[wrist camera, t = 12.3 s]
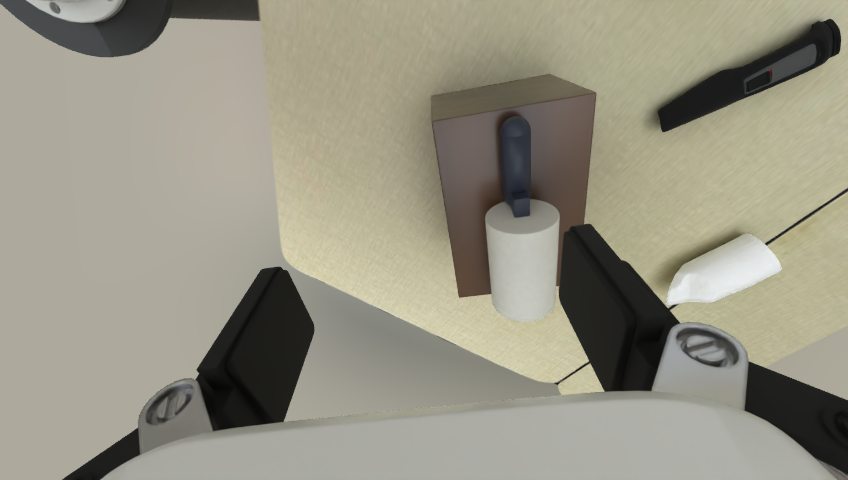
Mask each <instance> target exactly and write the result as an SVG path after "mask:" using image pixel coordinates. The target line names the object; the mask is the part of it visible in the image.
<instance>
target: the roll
mask: <svg viewBox="0 0 848 480" xmlns="http://www.w3.org/2000/svg"><path fill="white" fill-rule="evenodd" d="M780 271H781V264H780V263H779V261H778V259H777V257H776V256H775V255H774V254H773V252H772V251H771V250H770V249H769V248H768V247H767V246H766V245H765V244H764V243H763V242H762V241H760V240H759V239H758V238H756V237H755V236H753V235H751V234H748V233H745V234H743V235H741V236H739V237H737V238H736V239H734V240H732V241H730V242H728V243H726V244H724V245H722V246H719V247H717V248H715V249H713V250H711V251H709V252H707V253H705V254H703V255H701V256H699V257H697V258H695V259H693V260H691V261H689V262H687V263H685V264H683V265H682V266H681V268H680V269H679V270H678V272H677V273H676V274H675V276H674V279H673V281H672V283H671V284H670V287H669V290H668V295H667V296H666V297H667V301H666V302H665V303H666V304H669V305H674V304H679V303H683V302H704V303H711V302H714V301H717V300H719V299H721V298H723V297H726V296H728V295H731V294H733V293H735V292H738V291H740V290H743V289H745V288H748V287H750V286H752V285H754V284H757V283H759V282H760V281H762V280H764V279H766V278H768V277H770V276H772V275H774V274H776V273H778V272H780Z"/></svg>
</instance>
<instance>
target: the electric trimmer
mask: <svg viewBox="0 0 848 480" xmlns="http://www.w3.org/2000/svg"><path fill="white" fill-rule="evenodd" d="M840 46H841V35H840V30H839V28H838V26H837V25H836V23H835V22H834V21H833V20H832V19H828V20H826V21H824V22H820V21H818V22H816V23H814V24H813V25H812V29H811V31H810V33H808V34H807V35H805V36H803V37H801V38H799V39H797V40H795V41H793V42H791V43H789V44H787V45H785V46H784V47H782V48H780V49H778V50H776V51H774V52H772V53H770V54H768V55H766V56H764V57H762V58H760V59H758V60H756V61H754V62H752V63H750V64H747V65H745V66H743V67H739V68H734V69H728V70H723V71H720V72H719V73H717V74H715V75H713V76H712V77H710V78H708V79H707V80H705V81H703V82H702V83H700V84H699V85H697V86H696V87H694V88H692V89H691V90H689V91H688V92H686V93H684V94H683V95H681V96H680V97H678V98H676V99H675V100H673V101H672V102H670V103H668V104H667V105H665V106H664V107H662V108H661V109H659V111H658V114H659V119H660V124H661V129H662V132H666V131H669V130H671V129H673V128H676V127H678V126H681V125H683V124H685V123H688V122H690V121H693V120H695V119H697V118H700V117H702V116H704V115H707V114H709V113H712V112H714V111H716V110H719V109H721V108H723V107H726V106H728V105H730V104H732V103H734V102H736V101H739V100H741V99H744V98H746V97H749V96H751V95H754V94H757V93H759V92H761V91H764V90H766V89H768V88H771V87H773V86H775V85H778V84H780V83H782V82H785V81H787V80H789V79H792V78H794V77H796V76H799V75H801V74H803V73H806V72H808V71H810V70H812V69H814V68H816V67H818V66H820V65H822V64H823V63H825V62H826V61H827V60H828V59H829V58H830V57H833V56H835V55H837V54H839V52H840Z"/></svg>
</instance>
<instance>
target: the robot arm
mask: <svg viewBox="0 0 848 480" xmlns="http://www.w3.org/2000/svg"><path fill="white" fill-rule="evenodd" d="M26 1H28V2H29V3H31V4H32V5H34V6H35V7H37V8H38V9H40V10H42V11H44V12H46V13H48V14H50V15H52V16H54V17H57V18H60V19H63V20H67V21H71V22H79V23H96V22H101V21H105V20H108V19H109V18H111V17H113V16H115V15H116V14H117V13H118V12H119V11H120V10H121V9H122V8H123V6H124V4H125V2H126V0H26ZM559 298H560V302H561V305H562V307H563V309H564V311H565V313H566V315H567V317H568V319H569V321H570V323H571V325H572V327H573V329H574V331H575V333H576V335H577V337H578V339H579V341H580V343H581V345H582V347H583V349H584V351H585V353H586V355H587V357H588V359H589V361H590V363H591V365H592V367H593V369H594V371H595V373H596V375H597V377H598V379H599V381H600V383H601V385H602V387H603V389H604V391H605V392H596V393H582V394H569V395H556V396H545V397H533V398H522V399H512V400H501V401H491V402H479V403H469V404H458V405H449V406H437V407H427V408H418V409H408V410H397V411H387V412H376V413H366V414H357V415H347V416H337V417H328V418H318V419H308V420H299V421H289V422H284V419H285V416H286V413H287V410H288V407H289V404H290V402H291V399H292V396H293V393H294V390H295V387H296V384H297V381H298V378H299V375H300V372H301V370H302V367H303V364H304V361H305V358H306V355H307V352H308V349H309V346H310V343H311V341H312V338H313V335H314V324H313V321H312V319H311V317H310V315H309V313H308V311H307V309H306V308H305V305H304V303H303V301H302V299H301V297H300V295H299V293H298V291H297V289H296V287H295V285H294V283H293V281H292V279H291V277H290V275H289V273H288V271H287V270H283V269H282V268H281V267H273V268H266V269H262V270H261V271H260V272H259V274H258V275H257V277H256V279H255V280H254V282H253V283H252V285H251V286H250V288H249V289H248V291H247V292H246V294H245V295H244V297H243V299H242V300H241V302H240V303H239V305H238V306H237V308H236V309H235V311H234V312H233V314H232V316H231V317H230V319H229V320H228V322H227V323H226V325H225V326H224V328H223V330H222V331H221V333H220V334H219V336H218V337H217V339H216V340H215V342H214V344H213V345H212V347H211V348H210V350H209V351H208V353H207V354H206V356H205V358H204V359H203V361H202V362H201V364H200V365H199V367H198V368H197V371H198V372H199V375H198V377H197V378H196V380H194V379H192V378H189V379H182V380H178V381H175V382H173V383H171V384H169V385H167V386H166V387H164V388H163V389H161V390H160V391H158V392H157V393H156V394H155V395H154V396H153V397H152V398H151V399H150V400H149V401H148V402H147V403H146V405H145V406H144V408H143V409H142V411H141V413H140V415H139V420H138V428H137V429H135V430H134V431H133V432H131V433H130V434H128V435H127V436H125V437H124V438H122V439H121V440H120V441H118V442H116V443H115V444H114V445H112V446H111V447H109V448H108V449H106V450H105V451H103V452H102V453H100V454H99V455H97V456H96V457H94V458H93V459H92V460H90V461H89V462H87V463H86V464H84V465H83V466H81V467H80V468H78V469H77V470H76V471H74V472H72V473H71V474H70V475H68V476H67V477H65V478H64V479H63V480H848V400H845V399H843V398H840V397H838V396H835V395H833V394H830V393H828V392H825V391H823V390H820V389H817V388H815V387H812V386H810V385H807V384H805V383H802V382H800V381H797V380H795V379H792V378H790V377H787V376H784V375H782V374H779V373H777V372H774V371H772V370H769V369H767V368H764V367H762V366H759V365H757V364H754V363H751V362H749V360H748V355H747V352H746V350H745V349H744V347H743V346H742V344H741V343H740V342H738V341H737V340H736V339H735V338H734V337H733V336H731V335H729V334H728V333H726V332H724V331H723V330H721V329H718V328H716V327H713V326H711V325H707V324H702V323H695V322H686V323H680V322H679V321H678V320H677V319H676V318H675V316H674V315H673V314H672V313H671V312H670V311H669V309H668V308H667V307H666V306H665V305H664V304H663V302H662V301H661V300H660V299H659V298H658V297H657V295H656V294H655V293H654V292H653V291H652V290H651V289H650V287H649V286H648V285H647V284H646V283H645V282H644V280H643V279H642V278H641V277H640V276H639V275H638V273H637V272H636V271H635V270H634V269H633V268H632V266H631V265H630V264H629V263H627V262H626V261H623V260H622V261H621V259H620V258H619V257H618V256H617V255H616V253H615V252H614V251H613V250H612V249H611V248H610V246H609V245H608V244H607V243H606V242H605V240H604V239H603V238H602V237H601V236H600V234H599V233H598V232H597V231H596V230H595V229H594V227H593V226H592V225H591V224H584V225H576V226H571V227H570V229H569V231H565V232H564V236H563V248H562V260H561V273H560V286H559Z"/></svg>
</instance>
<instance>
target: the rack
mask: <svg viewBox="0 0 848 480" xmlns="http://www.w3.org/2000/svg"><path fill="white" fill-rule="evenodd" d="M595 102H596V92H593V91H591V90H589V89H586V88H584V87H581V86H579V85H576V84H574V83H571V82H569V81H566V80H563V79H561V78H558V77H556V76H553V75H551V74H549V75H543V76H538V77H532V78H527V79H521V80H516V81H510V82H505V83H499V84H494V85H488V86H483V87H478V88H472V89H467V90H461V91H456V92H450V93H445V94H439V95H434V96H431V111H432V127H433V134H434V140H435V147H436V153H437V159H438V166H439V172H440V179H441V185H442V192H443V198H444V204H445V211H446V217H447V224H448V230H449V237H450V243H451V249H452V256H453V262H454V269H455V275H456V282H457V288H458V294H459V297H469V296H477V295H486V294H492V293H491V282H490V270H489V258H488V246H487V235H486V223H485V216H486V213H487V212H488V211H489V210H490V209H491V208H492V207H493V206H495V205H497V204H499V203H502V202H505V201H504V199H503V188H502V169H501V149H500V129H501V126H502V124H503V123H504V122H505V121H506V120H507V119H509V118H510V117H514V116H519V117H522V118H524V119H526V120H527V121H528V123H529V124H530V127H531V197H530V199H534V200H540V201H544V202H547V203H549V204H551V205H553V206H554V207H555V208H556V209H557V210H558V212H559V215H560V220H559V239H558V259H557V279H556V286H560V273H561V260H562V248H563V236H564V232H565V231H569V229H570V227H571V226H576V225H584V217H585V207H586V196H587V186H588V175H589V165H590V155H591V144H592V134H593V123H594V113H595Z"/></svg>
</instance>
